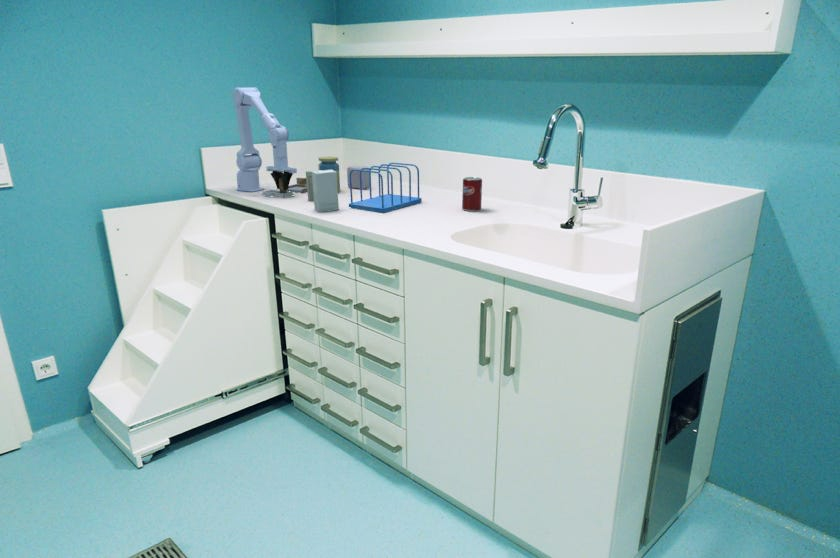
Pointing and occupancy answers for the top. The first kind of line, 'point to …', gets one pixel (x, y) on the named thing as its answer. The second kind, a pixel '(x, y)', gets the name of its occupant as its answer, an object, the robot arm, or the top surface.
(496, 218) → the top surface
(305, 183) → the cover
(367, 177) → the electronic device
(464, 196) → the soda can
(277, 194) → the socket board
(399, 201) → the file sorter
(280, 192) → the peg
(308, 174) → the skincare box
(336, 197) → the skincare box
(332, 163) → the jar
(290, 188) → the pattern board
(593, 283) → the top surface
